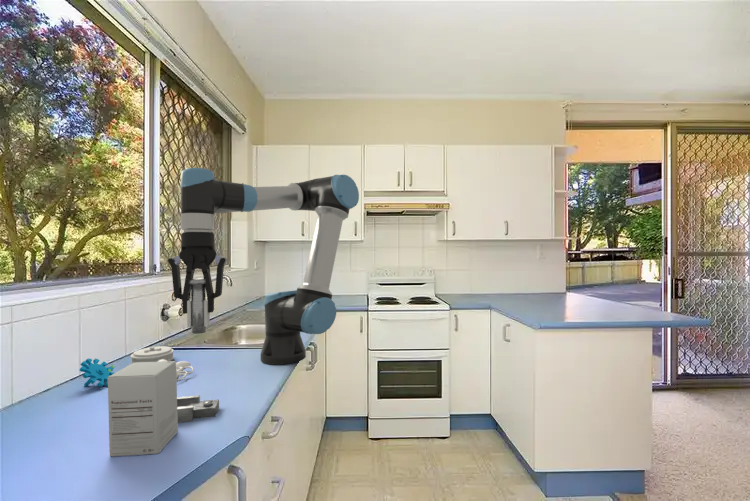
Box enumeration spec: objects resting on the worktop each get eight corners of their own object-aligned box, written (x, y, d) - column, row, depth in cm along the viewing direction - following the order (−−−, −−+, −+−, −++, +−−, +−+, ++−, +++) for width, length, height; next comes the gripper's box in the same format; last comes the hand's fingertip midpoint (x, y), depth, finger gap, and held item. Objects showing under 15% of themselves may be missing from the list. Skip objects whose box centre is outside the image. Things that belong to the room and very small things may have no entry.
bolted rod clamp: (219, 405, 93) (219, 393, 93) (214, 418, 86) (214, 405, 86) (142, 413, 90) (141, 400, 90) (129, 427, 83) (129, 413, 83)
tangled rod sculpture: (164, 399, 102) (164, 383, 102) (111, 394, 103) (112, 379, 102) (201, 373, 121) (201, 360, 121) (156, 369, 122) (157, 356, 122)
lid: (176, 364, 129) (176, 349, 129) (131, 371, 122) (131, 355, 122) (171, 355, 139) (171, 342, 139) (129, 362, 132) (129, 347, 132)
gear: (98, 386, 103) (75, 359, 105) (81, 402, 103) (59, 375, 105) (127, 378, 114) (106, 353, 116) (112, 392, 114) (92, 368, 115)
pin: (210, 329, 99) (210, 278, 99) (206, 333, 94) (206, 279, 94) (191, 330, 98) (190, 278, 98) (186, 334, 93) (185, 280, 93)
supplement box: (133, 434, 80) (132, 361, 80) (179, 431, 81) (177, 359, 80) (107, 457, 71) (105, 376, 71) (158, 454, 72) (156, 374, 71)
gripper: (234, 232, 101) (235, 321, 101) (167, 232, 98) (167, 324, 98) (230, 230, 94) (230, 327, 94) (157, 230, 91) (157, 330, 91)
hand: (198, 325), depth 96 cm, fingers closed on pin, 3 cm apart
